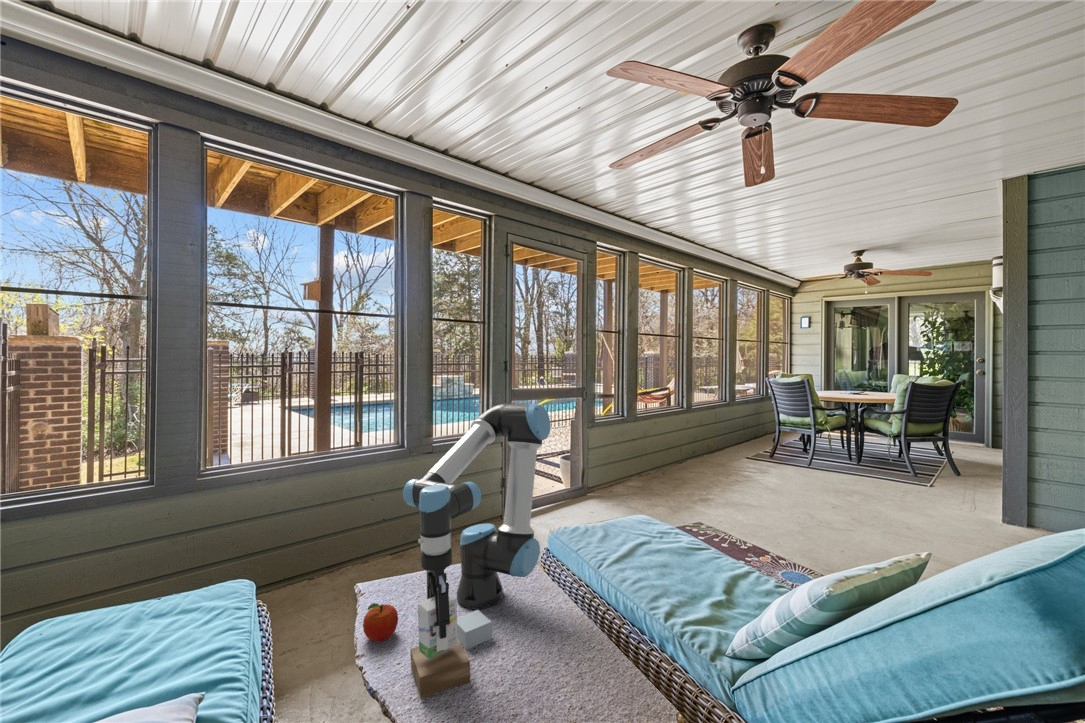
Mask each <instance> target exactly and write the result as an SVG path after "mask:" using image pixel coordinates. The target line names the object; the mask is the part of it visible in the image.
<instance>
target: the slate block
mask: <svg viewBox="0 0 1085 723" xmlns="http://www.w3.org/2000/svg"><path fill="white" fill-rule="evenodd" d="M492 629H493V628H492V621H491V620H490V619H489V618H488V617H487V616H485V615H484V614H483V613H482V612H481V611H480V609H475V610H474V611H471V612H468V613H465V614H462V615H461V616H457V635H458V640H459V641H460V643H461V645H462V647H463V649H464V650H465V651H467V650H469V649H471V648H473V647H476V646H478V644H479V645H481V644H483V643H485V642H487V640H488V641H490V640H492V639H493V634H492V632H493V631H492ZM491 638H492V639H491ZM489 639H490V640H489ZM484 641H485V642H484ZM482 642H483V643H482Z"/></svg>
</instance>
